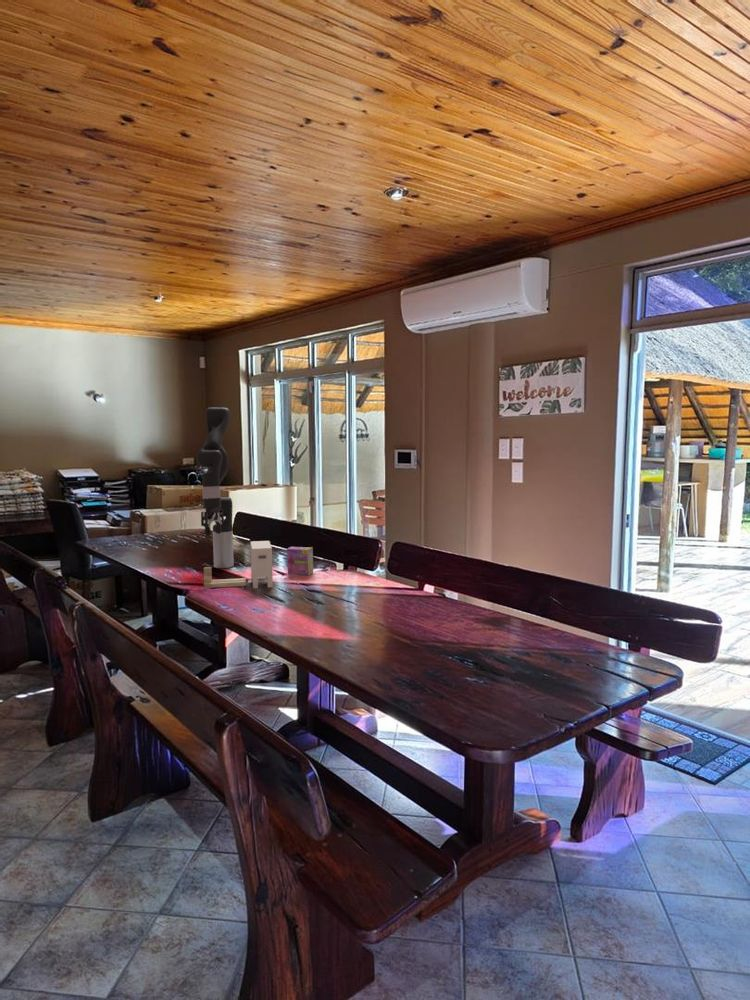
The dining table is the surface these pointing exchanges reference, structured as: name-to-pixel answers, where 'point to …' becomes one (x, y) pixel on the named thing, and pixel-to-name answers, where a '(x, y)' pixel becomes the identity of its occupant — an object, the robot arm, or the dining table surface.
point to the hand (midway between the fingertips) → (213, 534)
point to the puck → (262, 580)
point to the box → (300, 560)
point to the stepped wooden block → (220, 580)
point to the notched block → (261, 562)
